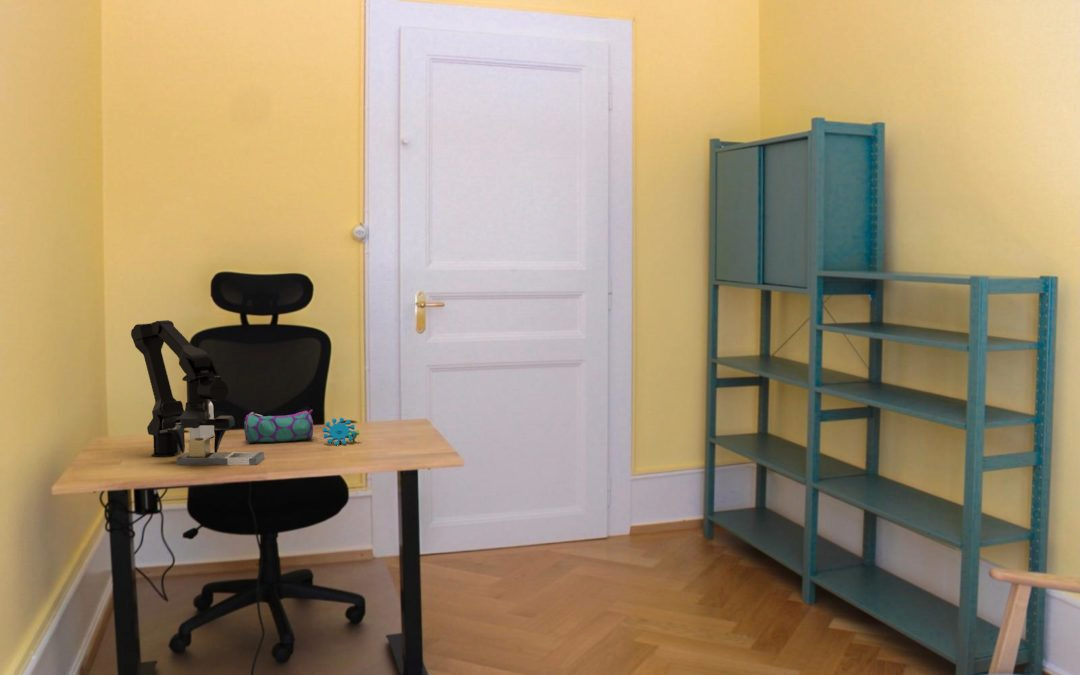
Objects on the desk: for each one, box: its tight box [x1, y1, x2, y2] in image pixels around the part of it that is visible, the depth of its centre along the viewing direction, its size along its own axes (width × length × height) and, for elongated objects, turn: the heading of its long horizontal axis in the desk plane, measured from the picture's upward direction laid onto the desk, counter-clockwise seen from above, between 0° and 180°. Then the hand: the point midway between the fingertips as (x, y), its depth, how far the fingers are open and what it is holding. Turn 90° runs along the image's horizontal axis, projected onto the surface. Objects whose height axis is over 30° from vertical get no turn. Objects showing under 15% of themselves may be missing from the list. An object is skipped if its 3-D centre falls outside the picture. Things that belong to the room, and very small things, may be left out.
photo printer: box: [188, 401, 215, 440], centre depth 301 cm, size 10×4×12 cm, turn 172°
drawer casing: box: [176, 451, 265, 466], centre depth 270 cm, size 22×8×2 cm, turn 91°
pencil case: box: [243, 409, 314, 444], centre depth 299 cm, size 21×9×10 cm, turn 107°
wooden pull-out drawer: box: [188, 437, 211, 458], centre depth 270 cm, size 4×4×7 cm
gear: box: [322, 417, 360, 446], centre depth 297 cm, size 11×6×10 cm
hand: (199, 452), depth 270 cm, fingers open, 9 cm apart
